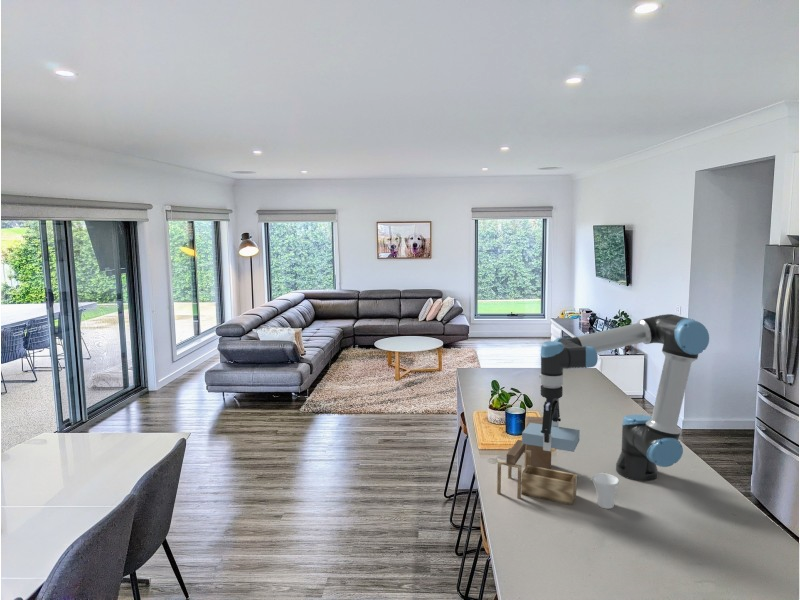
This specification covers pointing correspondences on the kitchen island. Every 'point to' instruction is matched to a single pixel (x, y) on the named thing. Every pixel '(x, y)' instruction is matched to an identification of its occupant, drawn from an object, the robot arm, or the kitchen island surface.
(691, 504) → the kitchen island surface
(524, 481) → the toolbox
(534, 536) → the kitchen island surface
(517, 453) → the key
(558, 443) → the lid
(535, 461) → the wooden block
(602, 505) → the cup
